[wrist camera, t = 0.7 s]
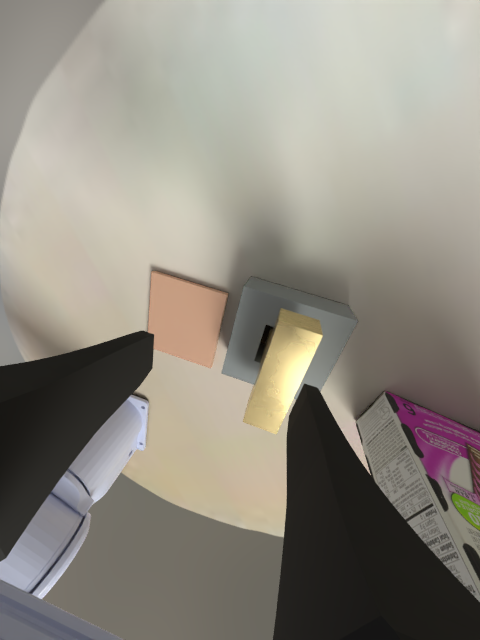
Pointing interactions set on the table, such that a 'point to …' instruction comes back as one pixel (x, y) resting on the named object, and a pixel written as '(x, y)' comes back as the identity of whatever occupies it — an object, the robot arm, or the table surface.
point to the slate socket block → (262, 310)
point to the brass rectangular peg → (282, 368)
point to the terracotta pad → (185, 318)
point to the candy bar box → (428, 478)
